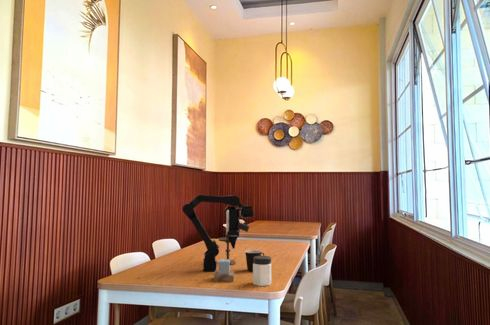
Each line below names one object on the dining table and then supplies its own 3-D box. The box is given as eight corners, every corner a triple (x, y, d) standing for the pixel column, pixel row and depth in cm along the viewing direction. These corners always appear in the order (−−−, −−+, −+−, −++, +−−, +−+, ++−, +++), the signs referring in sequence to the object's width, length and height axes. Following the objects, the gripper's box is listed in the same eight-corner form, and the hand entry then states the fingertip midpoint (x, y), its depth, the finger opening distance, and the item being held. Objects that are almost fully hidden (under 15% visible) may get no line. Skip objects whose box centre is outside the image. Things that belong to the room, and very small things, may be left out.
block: (218, 274, 169) (218, 261, 170) (219, 271, 174) (219, 259, 175) (229, 274, 169) (229, 261, 170) (229, 271, 174) (229, 259, 175)
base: (214, 281, 167) (214, 275, 167) (215, 277, 176) (215, 270, 176) (233, 281, 167) (233, 275, 167) (233, 277, 176) (233, 270, 176)
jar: (275, 283, 163) (275, 257, 164) (264, 287, 157) (264, 259, 158) (260, 280, 170) (260, 254, 170) (249, 283, 164) (249, 257, 164)
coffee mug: (247, 272, 185) (247, 253, 185) (243, 269, 193) (243, 250, 194) (269, 271, 188) (268, 252, 189) (263, 268, 196) (263, 249, 197)
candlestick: (239, 264, 205) (239, 203, 207) (221, 265, 202) (221, 203, 204) (234, 261, 215) (234, 202, 218) (216, 262, 212) (216, 203, 214)
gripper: (248, 219, 185) (248, 250, 184) (248, 216, 204) (248, 244, 203) (227, 219, 185) (227, 250, 184) (228, 216, 204) (228, 244, 203)
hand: (233, 247), depth 193 cm, fingers open, 9 cm apart
